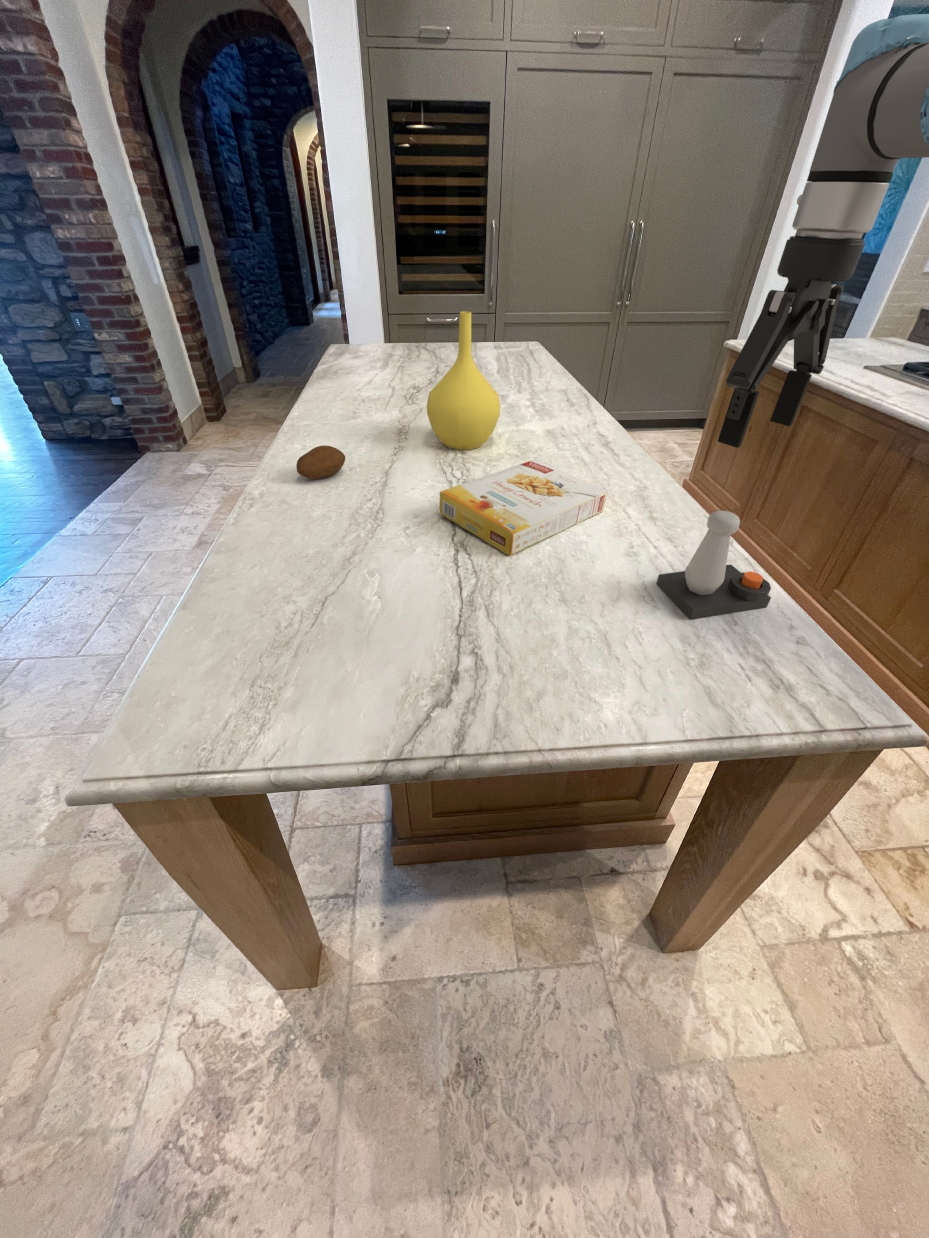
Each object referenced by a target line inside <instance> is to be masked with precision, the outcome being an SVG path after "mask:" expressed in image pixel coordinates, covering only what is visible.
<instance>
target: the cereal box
mask: <svg viewBox="0 0 929 1238" xmlns="http://www.w3.org/2000/svg"><path fill="white" fill-rule="evenodd" d="M607 496H608V489H607V488H606V487H603V486H601V485H598V484H595V483H593V482H591V481H588V480H586V479H583V478H581V477H578V476H576V475H573V474H571V473H569V472H566V471H565V470H562V469H560V468H557V467H555V466H553V465H550V464H548V463H545V462H544V461H541V460H538V459H535V458H534V459H532V460H529V461H526V462H523V463H520V464H517V465H514V466H511V467H508V468H504V469H502V470H499V471H497V472H494V473H490V474H488V475H485V476H482V477H479V478H476V479H473V480H470V481H467V482H464V483H460V484H458V485H455V486H452V487H449V488H447V489H443V490H441V491H439V504H438V505H439V506H438V510H439V514H440V516H442V517H445V518H446V519H448V520H450V522H454V524H456V525H458V526H459V527H461V528H463V529H464V530H466V531H468V532H469V533H470V534H473V535H474V536H476V537H478V538H479V539H481V540H483V542H486V543H487V544H489V545H490V546H492V547H494V548H495V549H497V550H498V551H500V552H502V553H504V554H505V555H507V556H510V557H511V556H512V555H514V554H517V553H518V552H520V551H522V550H525V549H527V548H530V547H531V546H533V545H536V544H537V543H539V542H542V541H544V540H545V539H548V538H550V537H552V536H554V535H557V534H558V533H560V532H563V531H565V530H567V529H569V528H571V527H573V526H576V525H577V524H579V523H581V522H583V521H586V520H588V519H590V518H592V517H594V516H596V515H598V514H600V513H602V512H604V508H605V504H606V500H607Z"/></svg>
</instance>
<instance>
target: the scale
mask: <svg viewBox="0 0 929 1238" xmlns="http://www.w3.org/2000/svg"><path fill="white" fill-rule="evenodd" d="M744 573H745V572H741V571H740V570H739V569H738V568H736V567H735V566H734V565H733V564H726V570H725V577H724V581H723V583H722V584H721V585H720V586H719V587H718V588H717V589H716V590H715V591H714V592H713V593H712V594H708V595H699V594H697V593H694V592H692V591H690V590H689V588H688V586H687V584H686V577H685V570H682V571H675V572H667V573H660V574H658V576H657V580H656V583H655V584H656V586H657V587H658V588H659V589H660V590H661V591H662V592H663V593H664V594H665V595H666V596H667V597H668V598H669V600H670V601H672V603H674V604H675V606H677V607H678V609H679V610H680V611H681V612H682V613H683V614H684V615H685V616H686V617H687V618H688V619H689V620H690V621H691V620H692V621H693V620H698V619H704V618H710V617H716V616H721V615H727V614H734V613H739V612H747V611H753V610H758V609H765V608H768V606H769V604H770V601H771V599H772V597H771V596H770V592H771V589H772V587H771V583H770V582H769V581H768V580H767V579H765V578H764V577H763V581H762V583H761V586H760V588H758V589H753V588H748V587H746V586H744V585H743V584H741V580H742V578H743V575H744Z"/></svg>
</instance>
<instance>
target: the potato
mask: <svg viewBox="0 0 929 1238" xmlns="http://www.w3.org/2000/svg"><path fill="white" fill-rule="evenodd" d="M345 462H346V455H345V454H344V452H343V451H341V450H340V449H338V448H336V447H334V446H331V445H319V446H315V447H313V448H311V449H309V451H308V452H305V453H304V454H302V455H301V456H299V458H298V459H297V461H296V465H295V466H296V467H295V468H296V472H297V474H298V475H299V476H300V477H303V478H305V479H308V480H319V479H325V478H330V477H332V476H335V475H337V474H338V473H339V472H340V471H341V470H342V468H343V466H344V464H345Z"/></svg>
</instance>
